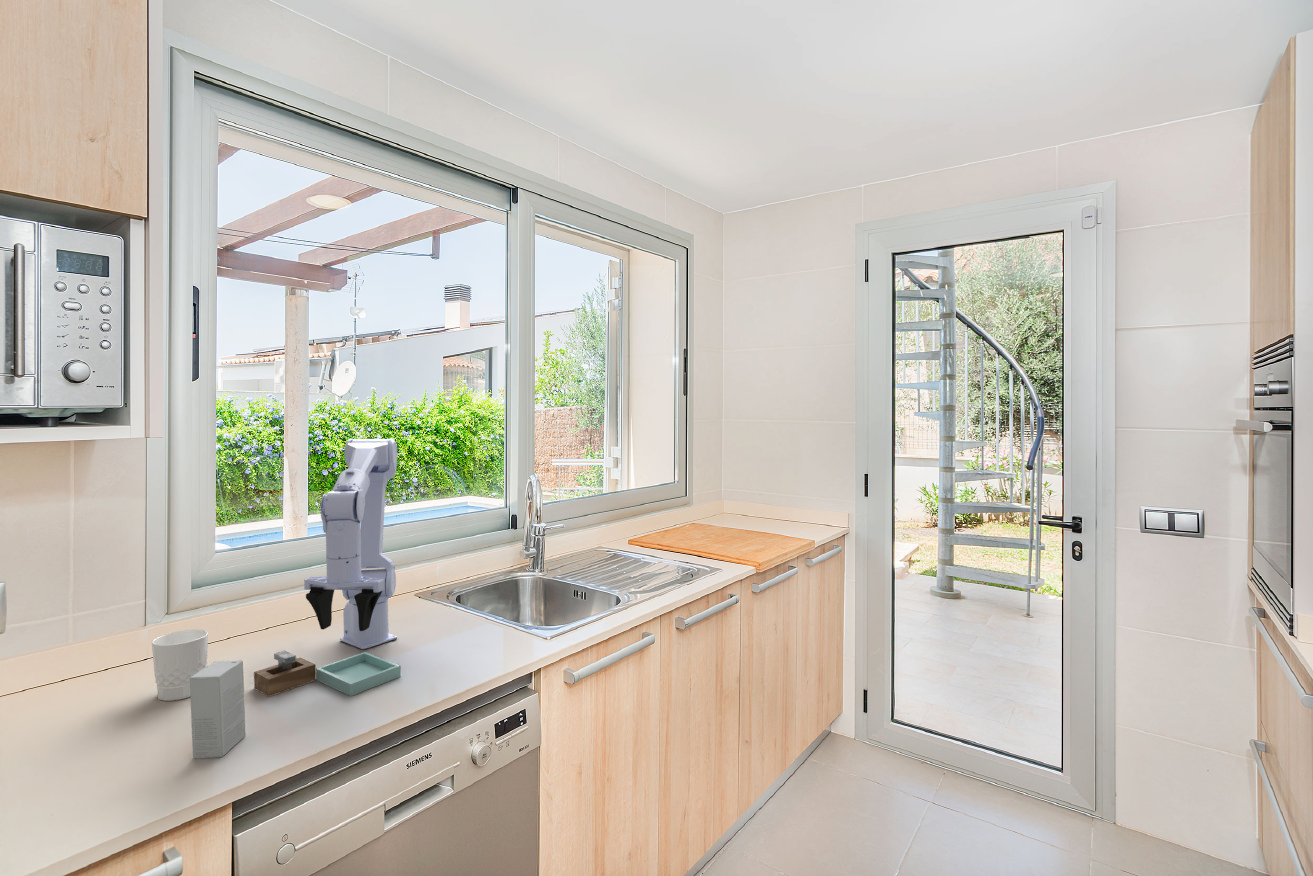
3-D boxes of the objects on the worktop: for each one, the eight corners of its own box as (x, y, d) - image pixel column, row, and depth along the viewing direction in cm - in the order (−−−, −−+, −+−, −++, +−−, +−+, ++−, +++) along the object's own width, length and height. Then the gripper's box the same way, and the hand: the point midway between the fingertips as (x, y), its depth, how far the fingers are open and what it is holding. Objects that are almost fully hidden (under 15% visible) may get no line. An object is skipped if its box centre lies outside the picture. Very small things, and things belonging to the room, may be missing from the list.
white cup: (147, 706, 104) (146, 648, 104) (159, 688, 111) (158, 633, 111) (205, 697, 108) (203, 640, 108) (213, 679, 115) (211, 626, 115)
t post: (274, 683, 114) (274, 653, 113) (285, 679, 115) (284, 650, 115) (285, 688, 111) (285, 658, 111) (296, 685, 113) (295, 655, 112)
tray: (316, 679, 115) (315, 668, 115) (365, 662, 123) (365, 652, 123) (350, 696, 108) (350, 684, 108) (400, 676, 116) (400, 665, 116)
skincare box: (216, 737, 95) (215, 660, 94) (246, 736, 95) (244, 659, 94) (190, 759, 89) (188, 677, 88) (222, 758, 89) (219, 676, 88)
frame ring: (254, 688, 111) (253, 671, 111) (300, 673, 118) (300, 657, 118) (269, 696, 108) (268, 679, 108) (315, 680, 115) (315, 664, 115)
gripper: (292, 559, 111) (293, 634, 112) (368, 562, 109) (369, 637, 110) (317, 551, 118) (319, 621, 119) (389, 553, 116) (390, 624, 117)
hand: (345, 628), depth 115 cm, fingers open, 7 cm apart
